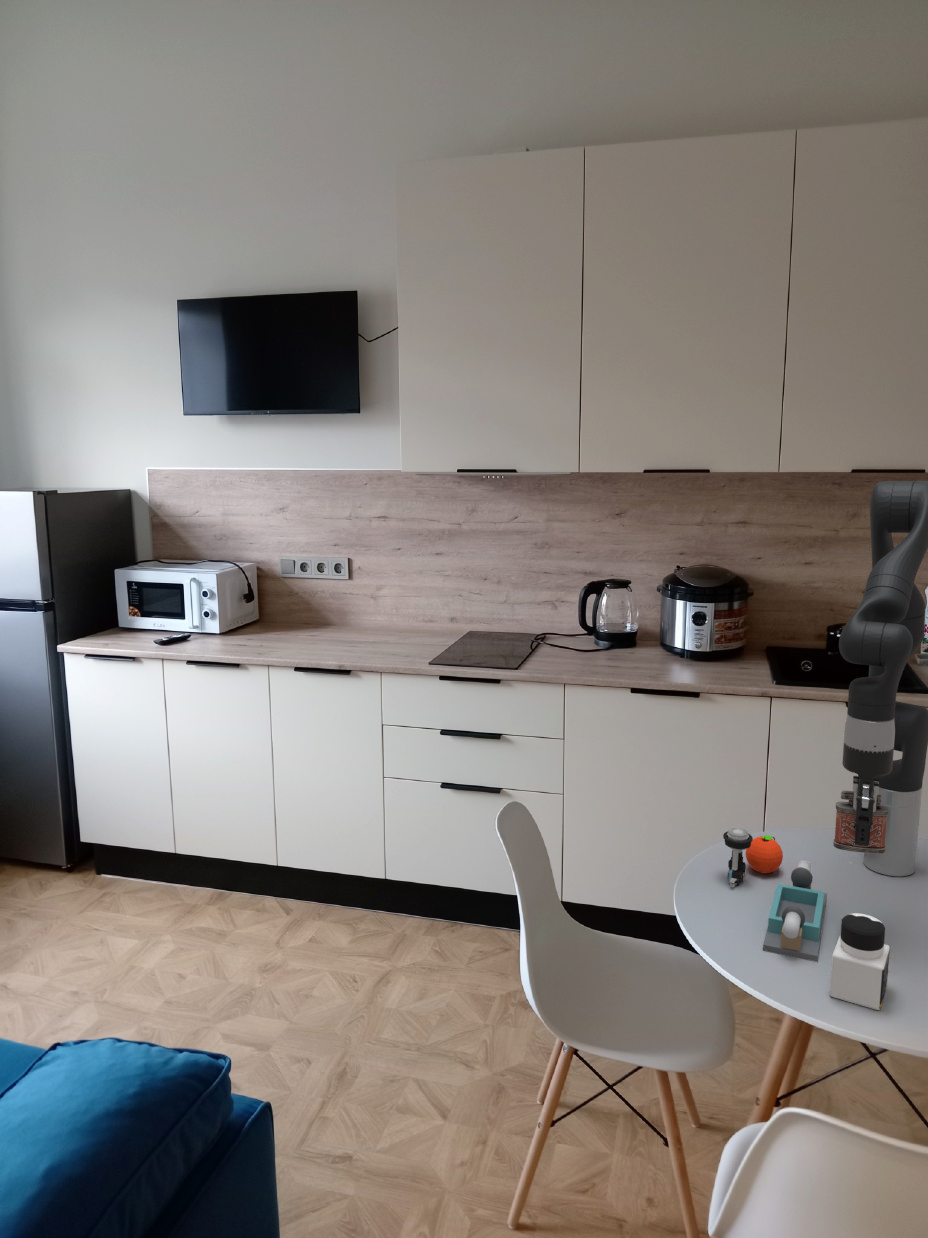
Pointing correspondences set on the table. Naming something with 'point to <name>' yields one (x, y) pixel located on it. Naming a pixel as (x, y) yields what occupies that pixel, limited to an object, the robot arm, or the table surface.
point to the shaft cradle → (796, 917)
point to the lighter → (847, 826)
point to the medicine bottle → (860, 962)
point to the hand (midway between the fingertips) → (862, 839)
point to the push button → (737, 853)
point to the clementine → (764, 854)
